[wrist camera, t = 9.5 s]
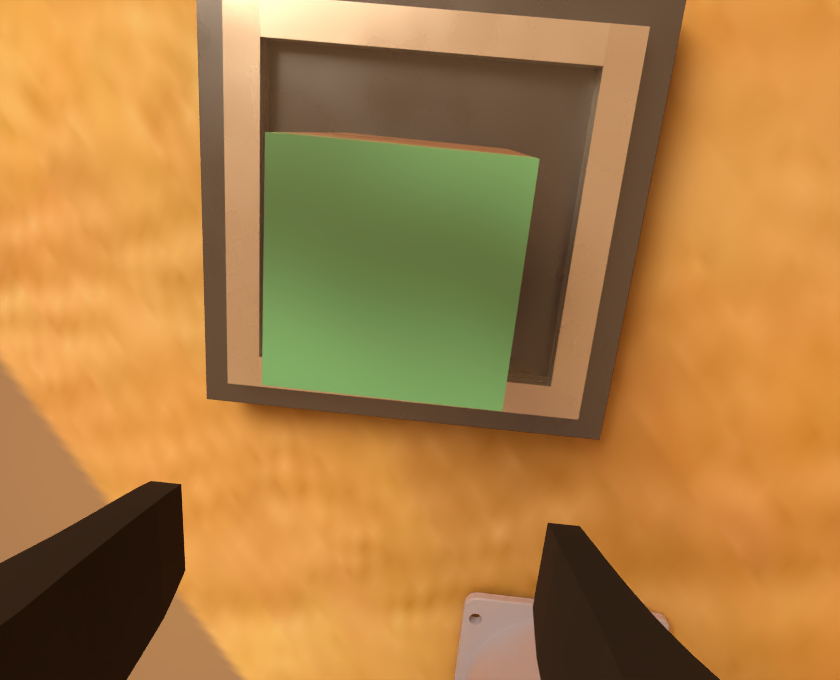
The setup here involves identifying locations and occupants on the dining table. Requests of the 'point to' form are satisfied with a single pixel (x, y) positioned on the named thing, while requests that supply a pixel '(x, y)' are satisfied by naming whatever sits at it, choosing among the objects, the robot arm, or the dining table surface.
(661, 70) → the gray square tray
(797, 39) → the dining table surface
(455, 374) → the brown and green block
